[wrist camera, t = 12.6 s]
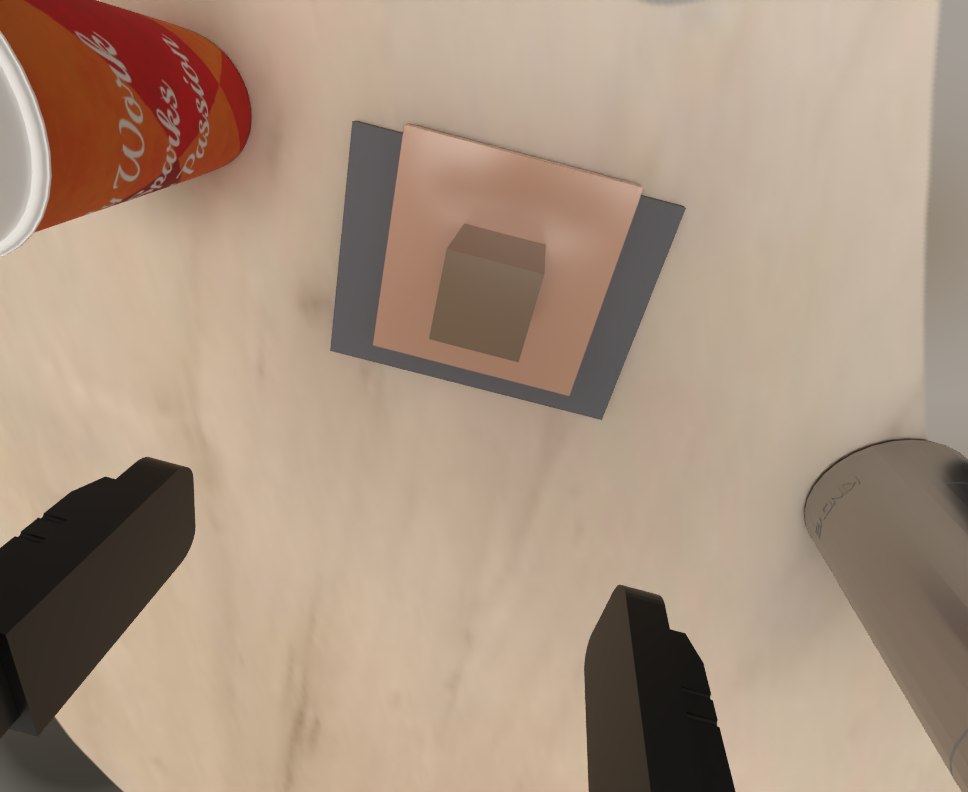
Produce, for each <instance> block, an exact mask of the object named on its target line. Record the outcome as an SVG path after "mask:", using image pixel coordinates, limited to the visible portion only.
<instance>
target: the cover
mask: <svg viewBox="0 0 968 792" xmlns="http://www.w3.org/2000/svg"><path fill="white" fill-rule="evenodd" d="M642 191H643V187H642V186H641V185H639V184H635V183H631V182H628V181H624V180H620V179H616V178H613V177H609V176H605V175H601V174H598V173H594V172H590V171H586V170H583V169H579V168H575V167H571V166H567V165H564V164H560V163H556V162H552V161H549V160H545V159H541V158H537V157H534V156H530V155H526V154H522V153H518V152H515V151H511V150H507V149H503V148H500V147H496V146H492V145H488V144H485V143H481V142H477V141H473V140H470V139H466V138H462V137H458V136H454V135H451V134H447V133H443V132H439V131H436V130H432V129H428V128H424V127H421V126H417V125H413V124H404V130H403V137H402V144H401V151H400V158H399V165H398V172H397V179H396V186H395V193H394V200H393V207H392V214H391V221H390V228H389V235H388V242H387V249H386V256H385V263H384V270H383V277H382V284H381V291H380V298H379V305H378V312H377V319H376V326H375V333H374V341H373V345H374V346H378V347H382V348H386V349H390V350H393V351H397V352H401V353H405V354H409V355H413V356H417V357H420V358H424V359H428V360H432V361H436V362H440V363H444V364H447V365H451V366H455V367H459V368H463V369H467V370H471V371H475V372H478V373H482V374H486V375H490V376H494V377H498V378H502V379H505V380H509V381H513V382H517V383H521V384H525V385H529V386H532V387H536V388H540V389H544V390H548V391H552V392H556V393H560V394H563V395H567V396H569V395H570V393H571V390H572V387H573V384H574V381H575V379H576V376H577V373H578V370H579V367H580V365H581V362H582V359H583V356H584V353H585V351H586V348H587V345H588V342H589V339H590V337H591V334H592V331H593V328H594V325H595V323H596V320H597V317H598V314H599V311H600V309H601V306H602V303H603V300H604V297H605V295H606V292H607V289H608V286H609V283H610V281H611V278H612V275H613V272H614V269H615V267H616V264H617V261H618V258H619V255H620V253H621V250H622V247H623V244H624V241H625V239H626V236H627V233H628V230H629V227H630V225H631V222H632V219H633V216H634V213H635V211H636V208H637V205H638V202H639V199H640V197H641V194H642Z"/></svg>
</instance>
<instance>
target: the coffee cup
mask: <svg viewBox="0 0 968 792" xmlns="http://www.w3.org/2000/svg"><path fill="white" fill-rule="evenodd" d="M250 127H251V108H250V101H249V97H248V93H247V90H246V87H245V85H244V82H243V80H242V78H241V76H240V74H239V72H238V70H237V69H236V67H235V66H234V64H233V63H232V62H231V60H230V59H229V58H228V57H227V56H226V54H225V53H224V52H223V51H222V50H221V49H220V48H218V47H217V46H216V45H215V44H213V43H212V42H211V41H209V40H208V39H206V38H204V37H203V36H201V35H199V34H197V33H194V32H192V31H189V30H187V29H184V28H181V27H179V26H176V25H173V24H170V23H167V22H164V21H161V20H158V19H154V18H151V17H148V16H145V15H142V14H138V13H135V12H132V11H129V10H126V9H122V8H119V7H116V6H113V5H109V4H106V3H103V2H99V1H96V0H0V257H1V256H4V255H7V254H9V253H11V252H12V251H14V250H15V249H17V248H19V247H20V246H22V245H23V244H24V243H25V242H26V241H27V240H28V239H29V238H30V237H31V236H32V235H33V234H34V232H37V231H40V230H43V229H46V228H49V227H52V226H54V225H57V224H60V223H63V222H66V221H69V220H72V219H75V218H78V217H81V216H84V215H87V214H90V213H93V212H96V211H99V210H102V209H104V208H107V207H110V206H113V205H116V204H119V203H122V202H125V201H128V200H131V199H134V198H137V197H140V196H143V195H146V194H148V193H151V192H154V191H157V190H160V189H163V188H166V187H169V186H172V185H175V184H177V183H180V182H183V181H186V180H189V179H191V178H194V177H197V176H200V175H202V174H205V173H208V172H210V171H213V170H215V169H218V168H220V167H222V166H224V165H226V164H228V163H229V162H231V161H232V160H233V159H234V158H236V157H237V156H238V154H239V153H240V152H241V151H242V149H243V148H244V146H245V144H246V141H247V139H248V136H249V132H250Z"/></svg>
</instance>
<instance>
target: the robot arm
mask: <svg viewBox="0 0 968 792" xmlns="http://www.w3.org/2000/svg"><path fill="white" fill-rule="evenodd" d="M805 524H806V526H807V529H808V531H809V534H810V536H811V538H812V539H813V541H814V543H815V544H816V546H817V548H818V549H819V551H820V553H821V554H822V556H823V558H824V560H825V561H826V563H827V565H828V566H829V568H830V570H831V571H832V573H833V575H834V577H835V578H836V580H837V582H838V584H839V586H840V587H841V589H842V591H843V592H844V594H845V596H846V597H847V599H848V601H849V602H850V604H851V606H852V608H853V609H854V611H855V613H856V614H857V616H858V618H859V619H860V621H861V623H862V624H863V626H864V628H865V629H866V631H867V633H868V635H869V636H870V638H871V640H872V641H873V643H874V645H875V646H876V648H877V650H878V651H879V653H880V655H881V657H882V658H883V660H884V662H885V663H886V665H887V667H888V668H889V670H890V672H891V673H892V675H893V677H894V678H895V680H896V682H897V684H898V685H899V687H900V689H901V690H902V692H903V694H904V695H905V697H906V699H907V700H908V702H909V704H910V706H911V707H912V709H913V711H914V712H915V714H916V716H917V717H918V719H919V721H920V722H921V724H922V726H923V727H924V729H925V731H926V733H927V734H928V736H929V738H930V739H931V741H932V743H933V744H934V746H935V748H936V749H937V751H938V753H939V754H940V756H941V758H942V760H943V761H944V763H945V765H946V766H947V768H948V770H949V771H950V773H951V775H952V776H953V778H954V780H955V782H956V783H957V785H958V786H959V788H960V789H961V791H962V792H968V459H966V458H965V457H964V456H963V455H962V454H961V453H959V452H957V451H956V450H953V449H952V448H950V447H947V446H946V445H942V444H938V443H935V442H931V441H922V440H901V441H891V442H887V443H882V444H878V445H874V446H871V447H868V448H866V449H863V450H861V451H858V452H856V453H854V454H852V455H850V456H848V457H847V458H845V459H843V460H842V461H840V462H838V463H837V464H836V465H834V466H833V467H832V468H831V469H830V470H828V471H827V472H826V473H825V474H824V475H823V476H822V477H821V478H820V480H819V481H818V482H817V483H816V484H815V486H814V487H813V489H812V491H811V493H810V495H809V497H808V499H807V503H806V508H805ZM194 535H195V507H194V483H193V473H192V471H191V469H190V468H188V467H184V466H180V465H177V464H173V463H169V462H165V461H162V460H158V459H154V458H150V457H145V458H142V459H140V460H138V461H137V462H136V463H134V464H133V465H132V466H131V467H130V468H129V469H127V470H126V471H125V472H124V473H123V474H121V475H120V476H119V477H118V478H117V479H112V478H108V477H103V478H101V479H99V480H97V481H94V482H92V483H90V484H88V485H85V486H83V487H81V488H79V489H76V490H74V491H72V492H70V493H69V494H68V495H66V496H65V497H64V498H63V499H61V500H60V501H59V502H58V503H56V504H55V505H54V506H53V507H51V508H50V509H49V510H48V511H46V512H45V513H44V515H43V517H42V518H37V519H36V520H35V521H34V522H32V523H31V524H30V525H29V526H27V527H26V528H25V529H24V530H22V531H21V534H20V536H19V537H14V538H12V539H11V540H10V541H8V542H7V543H6V544H5V545H3V546H2V547H1V548H0V738H1V737H2V736H3V735H4V734H5V733H6V731H7V730H8V729H12V730H16V731H20V732H23V733H27V734H31V735H34V736H39V734H40V733H41V732H42V731H43V729H44V728H45V727H46V726H47V725H48V723H49V722H50V721H51V720H52V719H53V717H54V716H55V715H56V714H57V713H58V711H59V710H60V709H61V708H62V707H63V705H64V704H65V703H66V702H67V700H68V699H69V698H70V697H71V696H72V694H73V693H74V692H75V691H76V690H77V688H78V687H79V686H80V685H81V684H82V682H83V681H84V680H85V679H86V677H87V676H88V675H89V674H90V673H91V671H92V670H93V669H94V668H95V667H96V665H97V664H98V663H99V662H100V661H101V659H102V658H103V657H104V656H105V654H106V653H107V652H108V651H109V650H110V648H111V647H112V646H113V645H114V644H115V642H116V641H117V640H118V639H119V638H120V636H121V635H122V634H123V633H124V632H125V630H126V629H127V628H128V627H129V625H130V624H131V623H132V622H133V621H134V619H135V618H136V617H137V616H138V615H139V613H140V612H141V611H142V610H143V609H144V607H145V606H146V605H147V604H148V602H149V601H150V600H151V599H152V598H153V596H154V595H155V594H156V593H157V592H158V590H159V589H160V588H161V587H162V586H163V584H164V583H165V582H166V581H167V579H168V578H169V577H170V576H171V575H172V573H173V572H174V571H175V570H176V569H177V567H178V566H179V565H180V564H181V562H182V561H183V560H184V558H185V557H186V555H187V553H188V551H189V549H190V547H191V545H192V542H193V539H194ZM584 676H585V703H586V729H587V756H588V783H589V792H735V788H734V784H733V780H732V776H731V772H730V768H729V764H728V760H727V756H726V752H725V748H724V744H723V740H722V736H721V732H720V728H719V727H717V716H716V712H715V708H714V704H713V700H711V699H710V695H711V692H710V688H709V684H708V680H707V676H706V672H705V668H704V664H703V662H702V660H701V659H700V657H699V655H698V654H697V652H696V650H695V649H694V647H693V645H692V644H691V642H690V640H689V639H688V637H687V636H686V634H685V633H681V632H678V631H674V630H670V628H669V623H668V618H667V613H666V609H665V604H664V601H663V599H662V597H661V596H660V595H657V594H653V593H649V592H645V591H642V590H638V589H634V588H631V587H627V586H623V585H618V586H617V587H616V588H615V590H614V591H613V593H612V595H611V597H610V599H609V601H608V603H607V605H606V607H605V609H604V611H603V613H602V615H601V617H600V619H599V621H598V623H597V625H596V627H595V629H594V631H593V632H592V635H591V637H590V639H589V643H588V646H587V651H586V656H585V666H584Z"/></svg>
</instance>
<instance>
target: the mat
mask: <svg viewBox="0 0 968 792" xmlns="http://www.w3.org/2000/svg"><path fill="white" fill-rule="evenodd" d="M402 137H403V133H401V132H398V131H394V130H390V129H386V128H382V127H378V126H375V125H371V124H367V123H363V122H359V121H352V132H351V142H350V152H349V163H348V173H347V183H346V194H345V204H344V214H343V225H342V235H341V246H340V256H339V266H338V277H337V287H336V297H335V308H334V318H333V328H332V339H331V349H330V351H334V352H337V353H341V354H345V355H349V356H353V357H357V358H361V359H365V360H369V361H373V362H377V363H381V364H385V365H388V366H392V367H396V368H400V369H404V370H408V371H412V372H416V373H420V374H424V375H428V376H432V377H436V378H439V379H443V380H447V381H451V382H455V383H459V384H463V385H467V386H471V387H475V388H479V389H483V390H487V391H490V392H494V393H498V394H502V395H506V396H510V397H514V398H518V399H522V400H526V401H530V402H534V403H538V404H541V405H545V406H549V407H553V408H557V409H561V410H565V411H569V412H573V413H577V414H581V415H585V416H589V417H592V418H596V419H600V420H602V418H603V415H604V413H605V410H606V408H607V405H608V403H609V400H610V398H611V395H612V393H613V390H614V388H615V385H616V383H617V380H618V378H619V375H620V372H621V370H622V367H623V365H624V362H625V360H626V357H627V355H628V352H629V350H630V347H631V345H632V342H633V340H634V337H635V335H636V332H637V330H638V327H639V325H640V322H641V320H642V317H643V315H644V312H645V309H646V307H647V304H648V302H649V299H650V297H651V294H652V292H653V289H654V287H655V284H656V282H657V279H658V277H659V274H660V272H661V269H662V267H663V264H664V262H665V259H666V257H667V254H668V252H669V249H670V247H671V244H672V241H673V239H674V236H675V234H676V231H677V229H678V226H679V224H680V221H681V219H682V216H683V214H684V211H685V209H686V208H685V207H684V206H681V205H677V204H673V203H670V202H666V201H662V200H658V199H654V198H650V197H647V196H643V195H641V197H640V199H639V202H638V205H637V208H636V211H635V213H634V216H633V219H632V222H631V225H630V227H629V230H628V233H627V236H626V239H625V241H624V244H623V247H622V250H621V253H620V255H619V258H618V261H617V264H616V267H615V269H614V272H613V275H612V278H611V281H610V283H609V286H608V289H607V292H606V295H605V297H604V300H603V303H602V306H601V309H600V311H599V314H598V317H597V320H596V323H595V325H594V328H593V331H592V334H591V337H590V339H589V342H588V345H587V348H586V351H585V353H584V356H583V359H582V362H581V365H580V367H579V370H578V373H577V376H576V379H575V381H574V384H573V387H572V390H571V393H570V395H569V396H567V395H563V394H560V393H556V392H552V391H548V390H544V389H540V388H536V387H532V386H529V385H525V384H521V383H517V382H513V381H509V380H505V379H502V378H498V377H494V376H490V375H486V374H482V373H478V372H475V371H471V370H467V369H463V368H459V367H455V366H451V365H447V364H444V363H440V362H436V361H432V360H428V359H424V358H420V357H417V356H413V355H409V354H405V353H401V352H397V351H393V350H390V349H386V348H382V347H378V346H374V345H373V341H374V333H375V326H376V319H377V312H378V305H379V298H380V291H381V284H382V277H383V270H384V263H385V256H386V249H387V242H388V235H389V228H390V221H391V214H392V207H393V200H394V193H395V186H396V179H397V172H398V165H399V158H400V151H401V144H402Z"/></svg>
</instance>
